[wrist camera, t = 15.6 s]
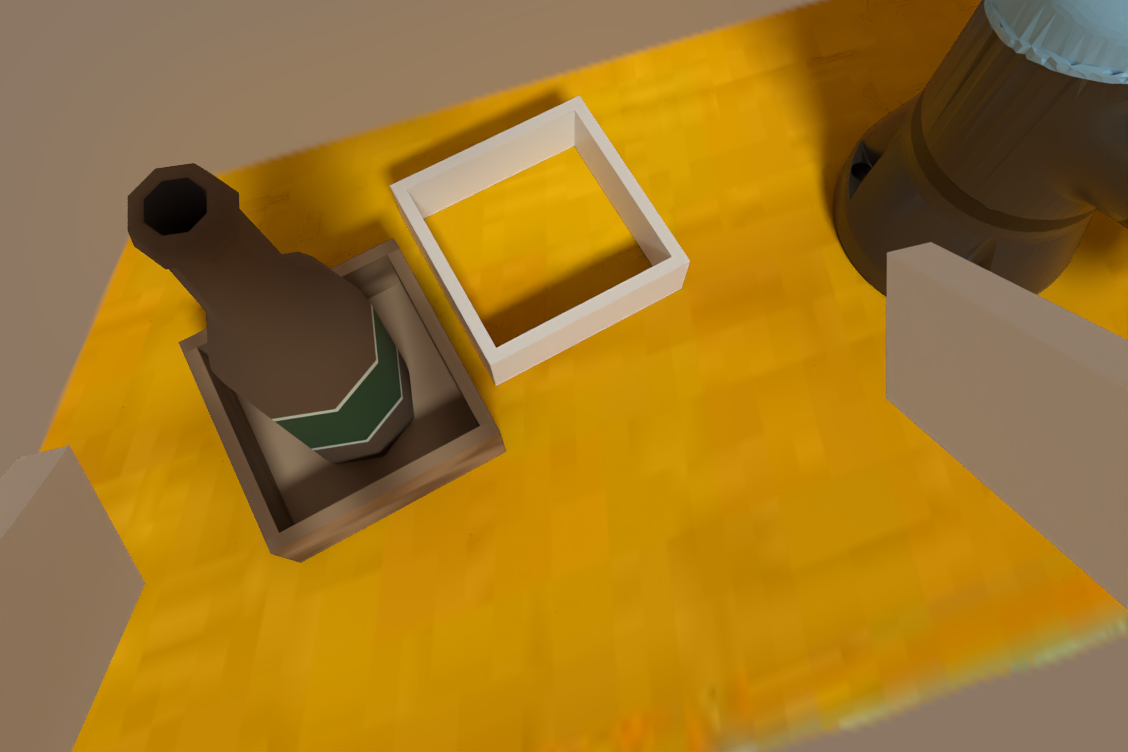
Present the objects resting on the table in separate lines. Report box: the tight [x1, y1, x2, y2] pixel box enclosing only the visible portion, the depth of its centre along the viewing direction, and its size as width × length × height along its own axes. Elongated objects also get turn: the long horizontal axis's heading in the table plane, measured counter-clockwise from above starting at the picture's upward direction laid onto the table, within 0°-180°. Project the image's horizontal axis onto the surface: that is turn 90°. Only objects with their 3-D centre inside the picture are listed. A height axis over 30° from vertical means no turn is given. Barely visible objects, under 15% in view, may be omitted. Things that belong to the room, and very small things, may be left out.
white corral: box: [390, 96, 690, 386], centre depth 52 cm, size 14×14×4 cm
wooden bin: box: [179, 238, 506, 563], centre depth 48 cm, size 14×14×5 cm
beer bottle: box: [128, 163, 414, 464], centre depth 38 cm, size 8×8×24 cm
